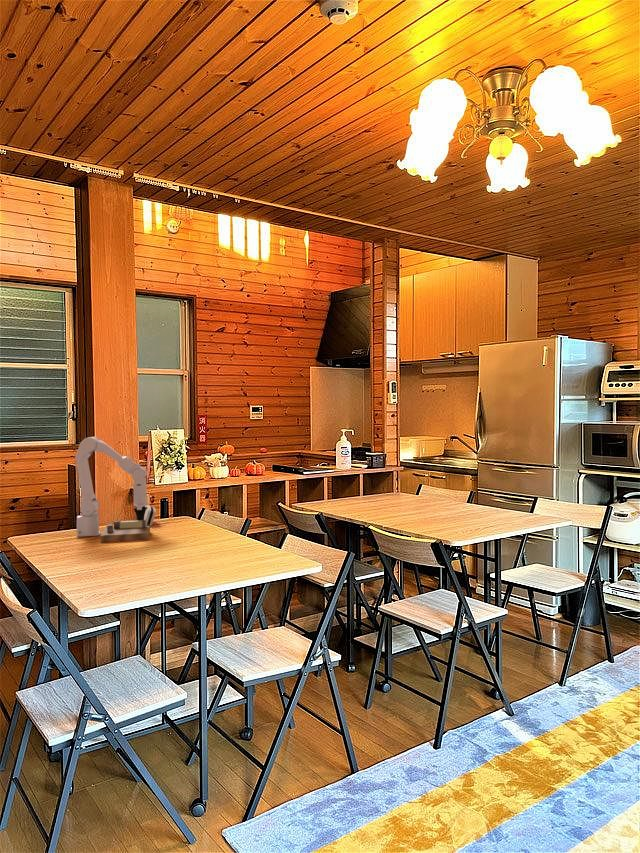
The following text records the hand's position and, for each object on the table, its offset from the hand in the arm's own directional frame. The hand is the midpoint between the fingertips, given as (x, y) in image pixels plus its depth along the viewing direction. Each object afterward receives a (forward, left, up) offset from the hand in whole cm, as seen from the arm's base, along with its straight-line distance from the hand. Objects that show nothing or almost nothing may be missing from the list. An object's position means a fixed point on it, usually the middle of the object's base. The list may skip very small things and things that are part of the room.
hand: (140, 523), depth 299 cm
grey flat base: (-6, -8, -4) cm, 11 cm away
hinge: (+2, +25, -5) cm, 25 cm away
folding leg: (-5, -2, -1) cm, 5 cm away
